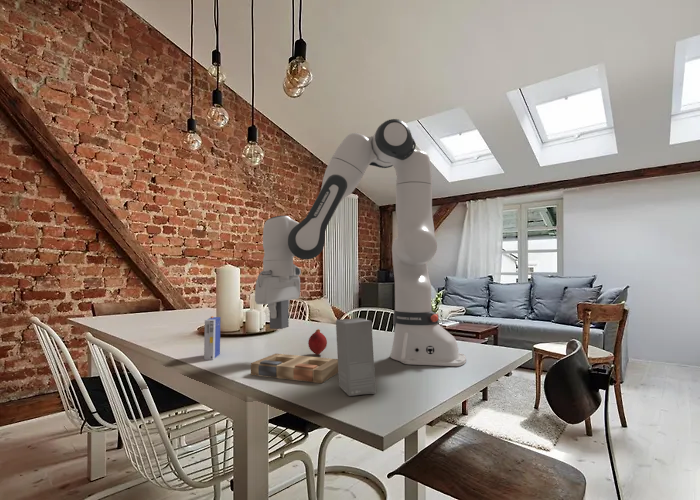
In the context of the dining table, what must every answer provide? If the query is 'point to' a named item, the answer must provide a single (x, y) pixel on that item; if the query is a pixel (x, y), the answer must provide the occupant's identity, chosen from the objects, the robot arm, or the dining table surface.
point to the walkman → (212, 338)
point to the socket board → (296, 367)
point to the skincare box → (355, 356)
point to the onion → (317, 342)
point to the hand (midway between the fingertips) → (279, 316)
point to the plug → (280, 316)
